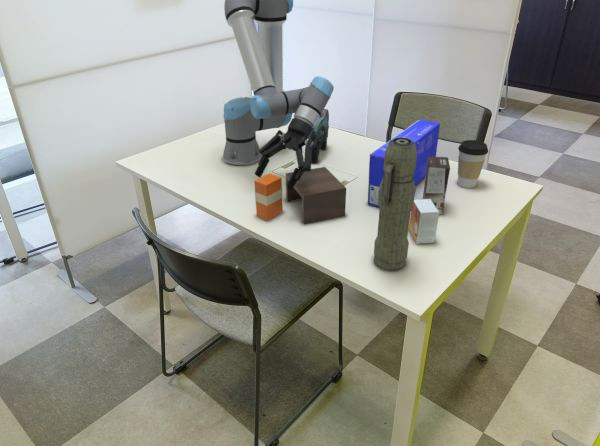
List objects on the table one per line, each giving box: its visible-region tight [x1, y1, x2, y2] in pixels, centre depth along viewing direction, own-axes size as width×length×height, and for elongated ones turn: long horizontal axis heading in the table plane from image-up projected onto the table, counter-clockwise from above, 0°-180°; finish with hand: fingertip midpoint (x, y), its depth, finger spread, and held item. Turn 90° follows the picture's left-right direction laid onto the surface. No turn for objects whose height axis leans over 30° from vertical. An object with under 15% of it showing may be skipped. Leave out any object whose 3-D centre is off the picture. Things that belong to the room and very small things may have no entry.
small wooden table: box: [285, 166, 347, 225], centre depth 156 cm, size 17×14×10 cm
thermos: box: [373, 138, 417, 272], centre depth 123 cm, size 9×12×35 cm
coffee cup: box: [457, 139, 489, 189], centre depth 168 cm, size 10×10×15 cm
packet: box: [254, 172, 284, 222], centre depth 152 cm, size 5×7×12 cm
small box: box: [408, 198, 440, 245], centre depth 140 cm, size 8×6×10 cm
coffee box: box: [422, 156, 451, 215], centre depth 154 cm, size 9×6×16 cm
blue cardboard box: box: [367, 119, 441, 209], centre depth 167 cm, size 39×8×18 cm, turn 145°
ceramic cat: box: [307, 108, 330, 165], centre depth 191 cm, size 20×6×20 cm, turn 164°
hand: (272, 182), depth 151 cm, fingers open, 13 cm apart
